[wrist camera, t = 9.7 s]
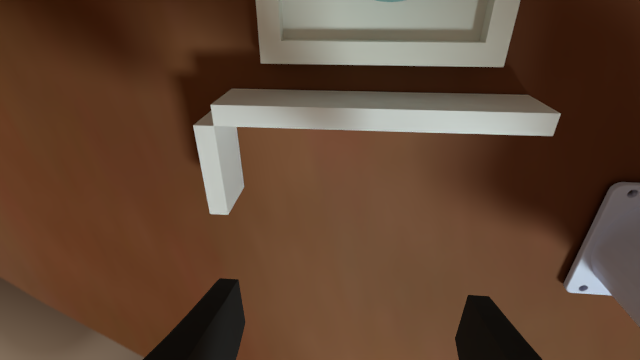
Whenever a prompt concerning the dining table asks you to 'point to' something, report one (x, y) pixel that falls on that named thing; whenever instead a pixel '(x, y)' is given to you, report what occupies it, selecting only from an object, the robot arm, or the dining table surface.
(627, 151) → the dining table surface
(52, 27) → the dining table surface
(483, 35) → the white tray
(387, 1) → the ball
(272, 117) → the wall
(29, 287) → the dining table surface
